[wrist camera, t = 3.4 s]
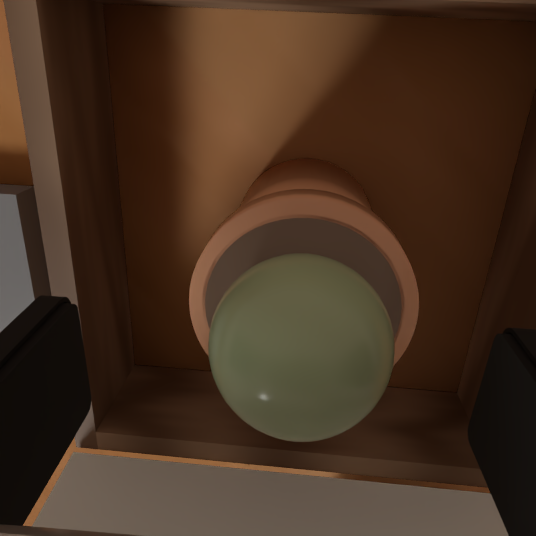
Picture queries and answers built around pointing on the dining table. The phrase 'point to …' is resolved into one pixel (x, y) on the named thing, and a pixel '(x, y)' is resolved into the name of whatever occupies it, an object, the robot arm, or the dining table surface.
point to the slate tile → (20, 252)
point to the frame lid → (252, 503)
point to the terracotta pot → (303, 303)
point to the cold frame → (115, 276)
